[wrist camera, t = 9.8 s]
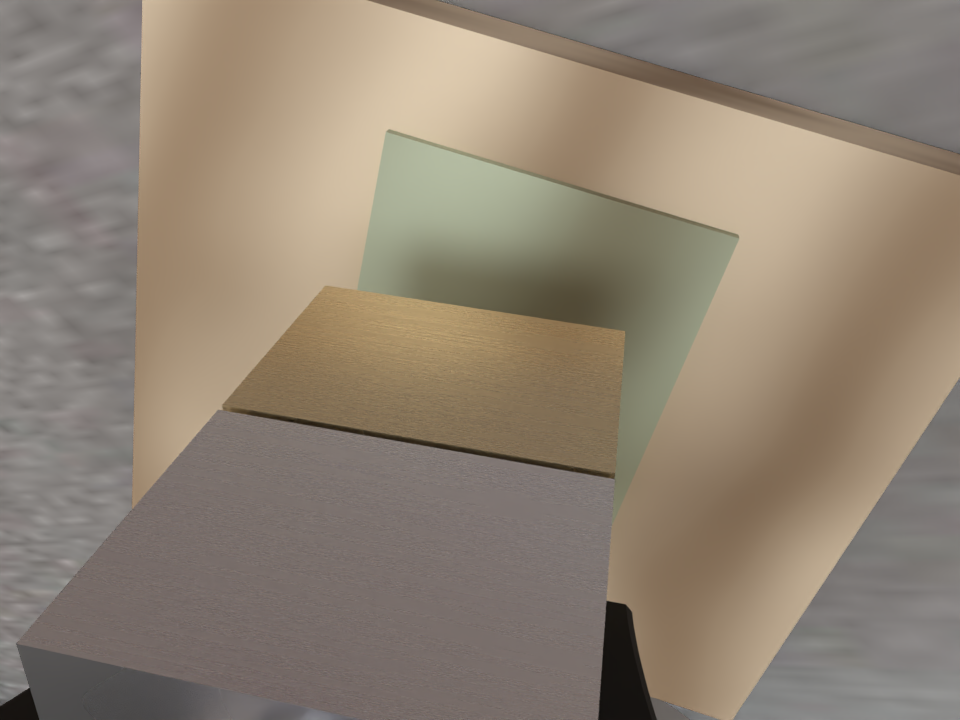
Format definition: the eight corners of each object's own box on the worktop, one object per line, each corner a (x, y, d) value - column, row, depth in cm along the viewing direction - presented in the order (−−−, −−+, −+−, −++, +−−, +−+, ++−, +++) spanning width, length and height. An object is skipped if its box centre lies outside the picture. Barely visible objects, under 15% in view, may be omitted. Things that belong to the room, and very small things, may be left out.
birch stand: (1024, 172, 15) (1077, 212, 13) (724, 659, 22) (730, 729, 20) (200, -70, 16) (136, -65, 14) (171, 479, 23) (127, 532, 21)
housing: (556, 696, 16) (491, 1211, 10) (333, 649, 16) (135, 1107, 10) (625, 330, 12) (592, 812, 6) (325, 284, 12) (-11, 675, 6)
